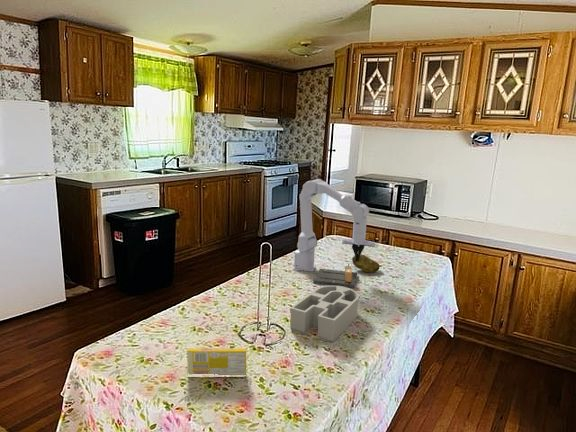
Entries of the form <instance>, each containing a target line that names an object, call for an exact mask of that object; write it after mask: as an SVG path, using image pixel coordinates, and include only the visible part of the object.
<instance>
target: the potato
mask: <svg viewBox="0 0 576 432" xmlns="http://www.w3.org/2000/svg"><path fill="white" fill-rule="evenodd" d="M351 261H352V264H353V266H354V267H355V268H356V269H360V270H361V271H362V272H365V273H375V272H378V271H379V270H380V263H378V262H377V261H375V260H374V259H372V258H370V257H368V256H367V255H365V254H362V253H361V255H360V258H359V261H356V258H355V255H354V256H352V258H351Z"/></svg>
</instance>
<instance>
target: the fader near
mask: <svg viewBox="0 0 576 432" xmlns="http://www.w3.org/2000/svg"><path fill="white" fill-rule="evenodd" d="M352 272H353V269H351V270H350V269H349V270H348V269H347V270H346V274H345V281H346V282H351V278H352Z"/></svg>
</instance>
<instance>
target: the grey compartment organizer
mask: <svg viewBox="0 0 576 432" xmlns="http://www.w3.org/2000/svg"><path fill="white" fill-rule="evenodd" d="M359 300H360V295H359V293H358V292H357V291H356V290H354V289H353V288H348V287H343V286H331V285H324V286H323V285H322V286H320V287H317V288H316V289H314V290H313V291H311V292H310V293H309V294H307V295H305V296H304V297H303V298H301V299H300V300H298V301H297V302H296V303H294V305H292V306H291V307H289V313H290V325H289V327H290V331H291V330H292V332H295V333H298V334H302V335H305V334H307V333H308V332H309V331H310V330H311V329H312V328H313V329H317V338H318V339H319V340H321V341H324V342H328V343H330V344H334V343H335V342H336V340H337V339H338V338H339V337H340V336H341V335H342V334H343V333H344V332H345V331H346V330H347V329H348V328H349V327H350V326H351V325H352V324H353V323H354V322H355V320H356V319H357V317H358V308H359Z"/></svg>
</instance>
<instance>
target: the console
mask: <svg viewBox="0 0 576 432" xmlns="http://www.w3.org/2000/svg"><path fill="white" fill-rule="evenodd" d="M357 278H358V272H356V271H355V272H354V271H352V278H351V282H346V281H345V270H336V269H330V268H329V269H327V268H319V270H318V271H317V273H316V275H315V276H314V279H313V280H312V283H313V284H315V283H317V285H322V286H323V285H324V286H343V287H347V288H350V289H355V285H356V281H357Z"/></svg>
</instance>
